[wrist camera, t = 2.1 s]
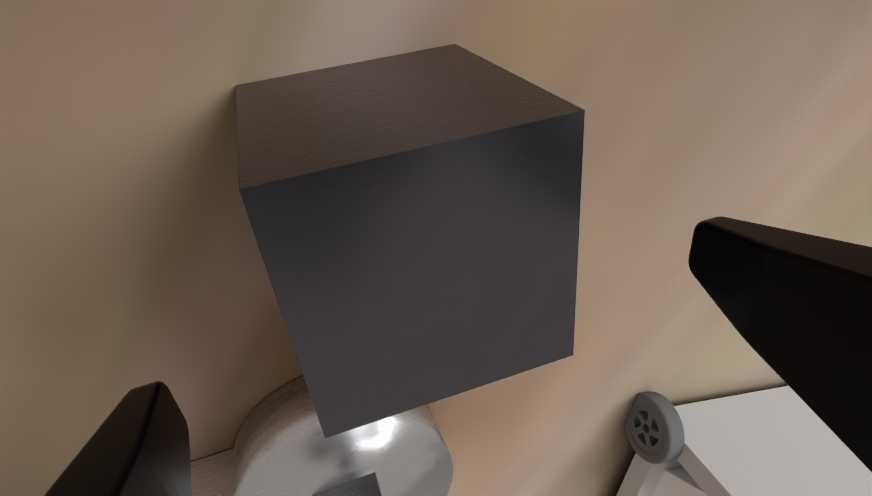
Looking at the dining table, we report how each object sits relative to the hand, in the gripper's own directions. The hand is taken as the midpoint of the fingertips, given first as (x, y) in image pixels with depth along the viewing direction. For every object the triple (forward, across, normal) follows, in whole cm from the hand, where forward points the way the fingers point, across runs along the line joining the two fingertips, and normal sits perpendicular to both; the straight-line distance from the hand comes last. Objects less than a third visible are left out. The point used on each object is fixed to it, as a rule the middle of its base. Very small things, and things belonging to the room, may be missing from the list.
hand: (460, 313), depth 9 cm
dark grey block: (+7, 0, 0) cm, 7 cm away
